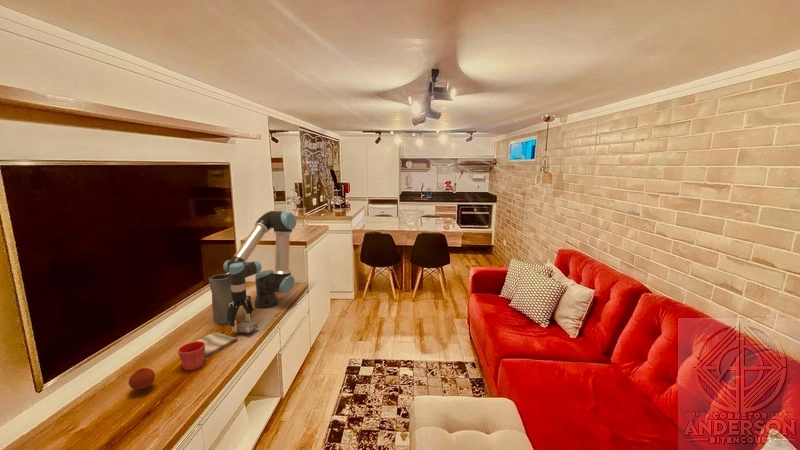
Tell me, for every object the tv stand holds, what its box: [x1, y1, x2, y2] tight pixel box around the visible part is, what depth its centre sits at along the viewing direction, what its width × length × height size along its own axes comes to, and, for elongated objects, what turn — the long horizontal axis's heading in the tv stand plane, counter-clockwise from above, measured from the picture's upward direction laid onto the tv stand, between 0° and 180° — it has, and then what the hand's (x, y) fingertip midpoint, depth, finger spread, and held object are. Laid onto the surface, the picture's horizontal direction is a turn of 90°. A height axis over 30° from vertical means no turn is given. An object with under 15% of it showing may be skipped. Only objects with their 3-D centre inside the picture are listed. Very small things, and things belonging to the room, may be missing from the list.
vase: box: [208, 273, 233, 326], centre depth 195 cm, size 12×12×30 cm
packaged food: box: [236, 321, 260, 334], centre depth 185 cm, size 9×12×5 cm
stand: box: [194, 331, 238, 358], centre depth 171 cm, size 18×18×2 cm
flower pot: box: [177, 340, 205, 371], centre depth 153 cm, size 11×11×10 cm
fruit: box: [128, 367, 156, 390], centre depth 137 cm, size 9×9×8 cm
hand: (241, 327), depth 186 cm, fingers closed on packaged food, 9 cm apart
